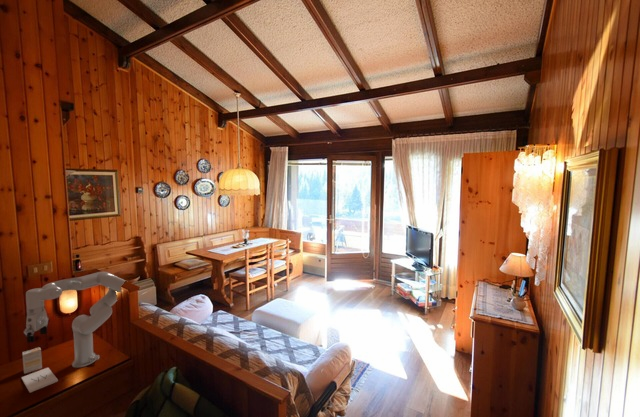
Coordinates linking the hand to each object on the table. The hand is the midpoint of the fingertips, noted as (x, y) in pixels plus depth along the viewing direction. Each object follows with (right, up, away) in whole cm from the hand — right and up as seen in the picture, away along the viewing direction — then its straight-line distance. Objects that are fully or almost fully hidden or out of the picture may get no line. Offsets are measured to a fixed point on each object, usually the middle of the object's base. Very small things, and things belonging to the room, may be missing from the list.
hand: (37, 337), depth 172 cm
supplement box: (-13, -26, +11) cm, 31 cm away
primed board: (0, -26, +2) cm, 26 cm away
